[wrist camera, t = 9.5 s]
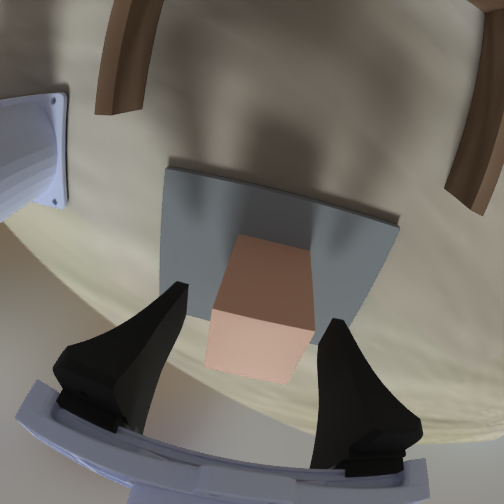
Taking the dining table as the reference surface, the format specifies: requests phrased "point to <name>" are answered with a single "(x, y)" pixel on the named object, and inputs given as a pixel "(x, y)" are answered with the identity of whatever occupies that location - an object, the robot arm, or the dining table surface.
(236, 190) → the grey mat
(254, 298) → the terracotta block
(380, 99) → the dining table surface
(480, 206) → the open side frame
